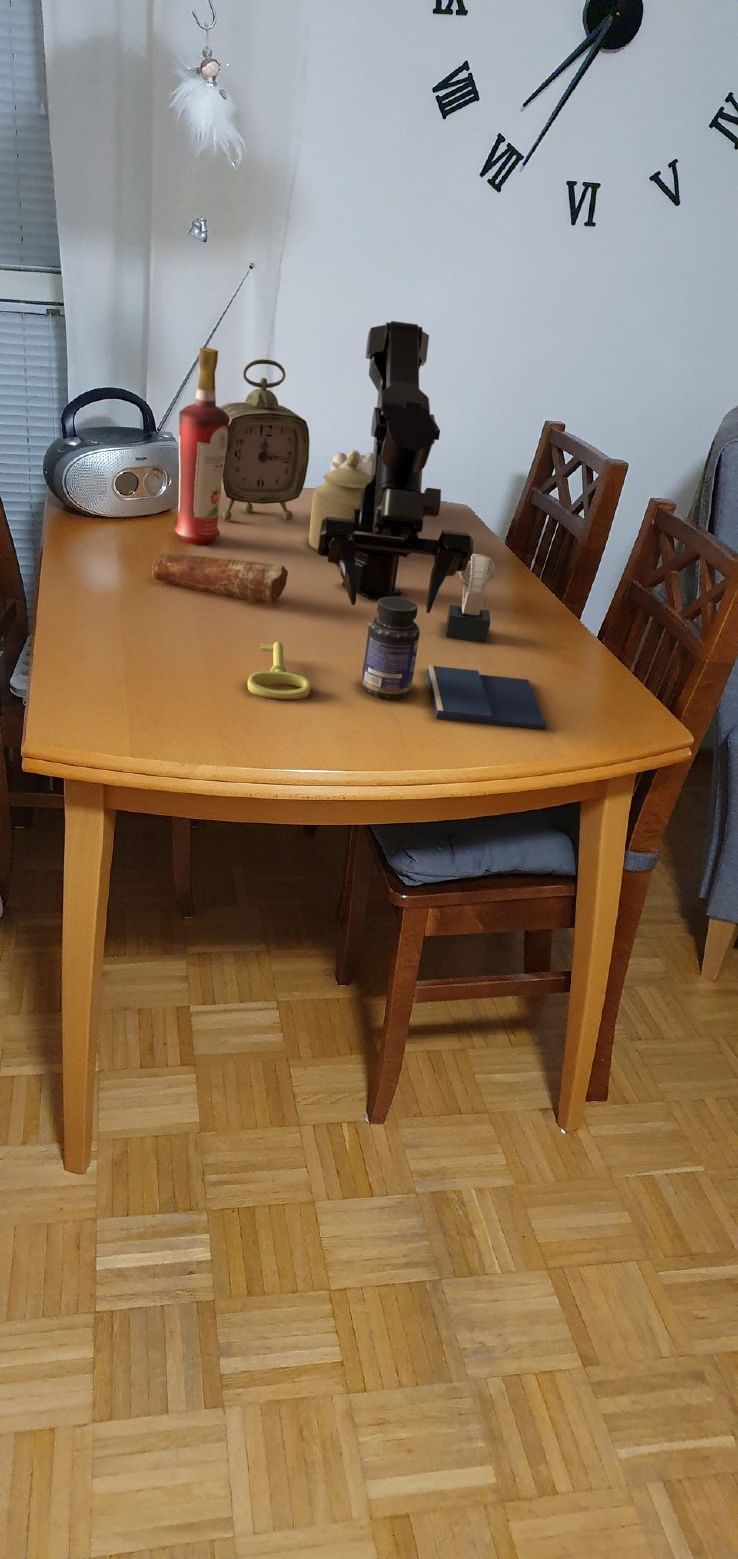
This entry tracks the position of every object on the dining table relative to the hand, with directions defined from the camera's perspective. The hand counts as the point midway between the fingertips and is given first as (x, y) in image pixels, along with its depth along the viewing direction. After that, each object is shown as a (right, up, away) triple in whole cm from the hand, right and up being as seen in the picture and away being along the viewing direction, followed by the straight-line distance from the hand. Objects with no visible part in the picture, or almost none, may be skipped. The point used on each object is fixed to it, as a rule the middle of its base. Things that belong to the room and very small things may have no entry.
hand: (391, 607), depth 145 cm
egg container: (-4, +34, +62) cm, 71 cm away
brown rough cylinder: (-24, +5, +19) cm, 31 cm away
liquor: (-29, +16, +38) cm, 51 cm away
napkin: (+11, -11, 0) cm, 16 cm away
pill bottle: (-1, -10, -1) cm, 10 cm away
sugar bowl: (-5, +16, +45) cm, 48 cm away
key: (-14, -9, -3) cm, 17 cm away
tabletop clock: (-22, +23, +53) cm, 62 cm away
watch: (+11, -1, +18) cm, 21 cm away
